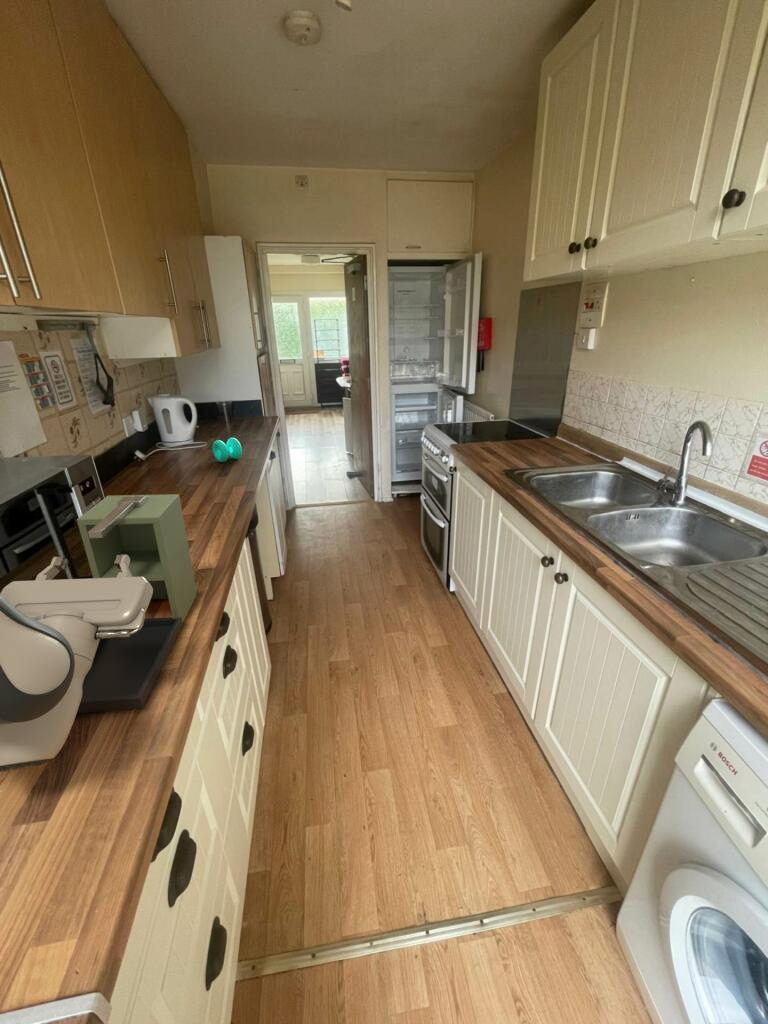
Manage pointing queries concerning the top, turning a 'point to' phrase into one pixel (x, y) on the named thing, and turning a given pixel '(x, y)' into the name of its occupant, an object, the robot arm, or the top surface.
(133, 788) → the top surface
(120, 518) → the fork
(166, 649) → the tray
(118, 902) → the top surface
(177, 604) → the shelf
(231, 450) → the turquoise spool
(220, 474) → the top surface
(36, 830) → the top surface
